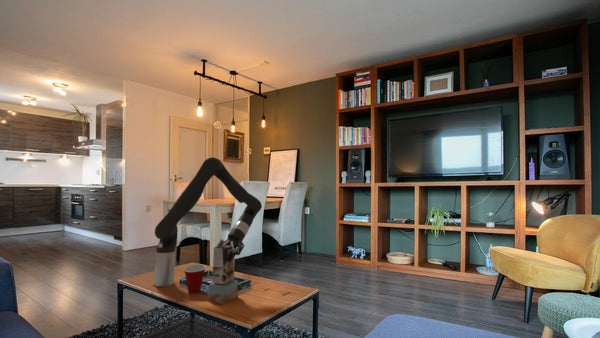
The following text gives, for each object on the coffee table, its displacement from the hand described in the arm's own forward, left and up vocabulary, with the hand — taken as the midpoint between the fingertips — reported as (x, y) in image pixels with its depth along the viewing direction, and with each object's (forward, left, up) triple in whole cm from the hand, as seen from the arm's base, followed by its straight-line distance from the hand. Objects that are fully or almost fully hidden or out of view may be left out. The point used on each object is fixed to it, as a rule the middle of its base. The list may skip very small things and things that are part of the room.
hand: (221, 260), depth 147 cm
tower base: (0, +1, -18) cm, 19 cm away
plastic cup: (-19, +1, -18) cm, 26 cm away
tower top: (+1, +1, -14) cm, 14 cm away
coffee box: (0, +2, -10) cm, 10 cm away
